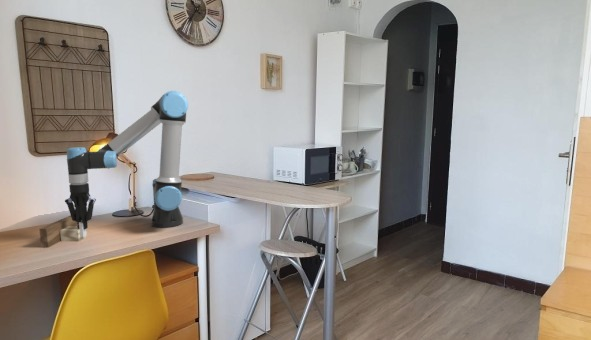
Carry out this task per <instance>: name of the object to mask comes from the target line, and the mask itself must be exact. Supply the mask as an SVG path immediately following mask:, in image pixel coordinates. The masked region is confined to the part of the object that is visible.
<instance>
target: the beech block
mask: <svg viewBox="0 0 591 340" xmlns="http://www.w3.org/2000/svg"><path fill="white" fill-rule="evenodd" d="M60 235H61V241H60V242H81V241H82V240H84V239H86V238H87V235H86V236H84V237H80V230H79V229H78V227H77V226H68V227H66V228H64V229H62V230H60Z"/></svg>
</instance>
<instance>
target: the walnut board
mask: <svg viewBox="0 0 591 340" xmlns="http://www.w3.org/2000/svg"><path fill="white" fill-rule="evenodd" d="M68 226H77V222H76V221H73V220H72V218H71V215H68V216H66V217H64V218H61V219H59V220H56V221H54V222H51V223H50V224H47V225H45V226H43V227H40V228H39V237H40V238H39V239H40V245H41V248H49V247H52V246H54V245H55V244H58V243H60V242H62V241H61V235H60V230H62V229H64V228H66V227H68Z"/></svg>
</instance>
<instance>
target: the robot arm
mask: <svg viewBox="0 0 591 340" xmlns="http://www.w3.org/2000/svg"><path fill="white" fill-rule="evenodd" d="M188 109H189V102H188V100H187V98H186V96H185V95H184V94H183V93H182V92H180V91H176V90H170V91H167V92H165V93H164V94H162V95H161V97H160V98H159V99H158V100H157V101H156V102H155V103H154V104H153V105H152V106H150V110H148V111H147V112H146V113H145V114H144V115H142V116H141V117H139V118H138V119H137V120H135V122H133V123H132V124H131V125H129V126H128V127H127V128H125V130H123V131H122V132H121V133H119V134H118V135H116V136H115V137H114V138H113V139H112V140H110V141H109V142H108V143H107V144H105V145H103V146H102V147H101V148H99V149H98V150H97V151H87V149H86V147H85V146H84V147H81V146H79V147H69V148H68V149H67V150H66V162H67V172H68V173H67V175H68V183H69V193H70V194H69V197H68V198H66V199H65V200H64V202H65V204H66V205H67V208H68V211H69V214H70V216H71V218H72V220H73V221H76V222H77V227H78V229H79V230H80V237H84V236H86V237H87V229H88V225H89V224H88V221H91V220H92V217H93V212H94V206H95V205H94V204H95V203H96V201H97V199H96V198H93V197H92V196H91V194H90V185H89V171H88V170H93V169H95V170H97V169H107V170H110V169H113V168H117V166H118V159H117V158H118V157H119V156H121V155H122V154H123V153H125V151H127V150H128V149H130V148H131V147H132V146H134V145H135V144H136V143H137V142H138V141H140V140H141V139H142V138H144V137H146V135H147V134H149V133H150V132H151V131H153V130H155V128H156V127H158V126H160V125H162V126H161V128H162V129H161V141H160V144H161V145H160V159H159V162H160V163H159V175H158V177H157V178H154V179H153V180H152V185H151V186H152V192H153V194H152V195H153V196H152V197H153V208H154V209H153V212H152V217H151V222H150V224H151V226H152V227H154V228H160V229H161V228H172V227H176V226H177V227H178V226H180V225H182V224H184V218H183V215H182V212H181V210H180V207H179V206H180V205H181V203H182V200H183V196H182V195H183V194H182V186H183V185H182V183H183V181H182V179H181V178H180V176H179V175H180V162H181V161H180V160H181V147H182V131H183V125H184V124H186V122H187V121H186V120H187V111H188Z"/></svg>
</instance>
